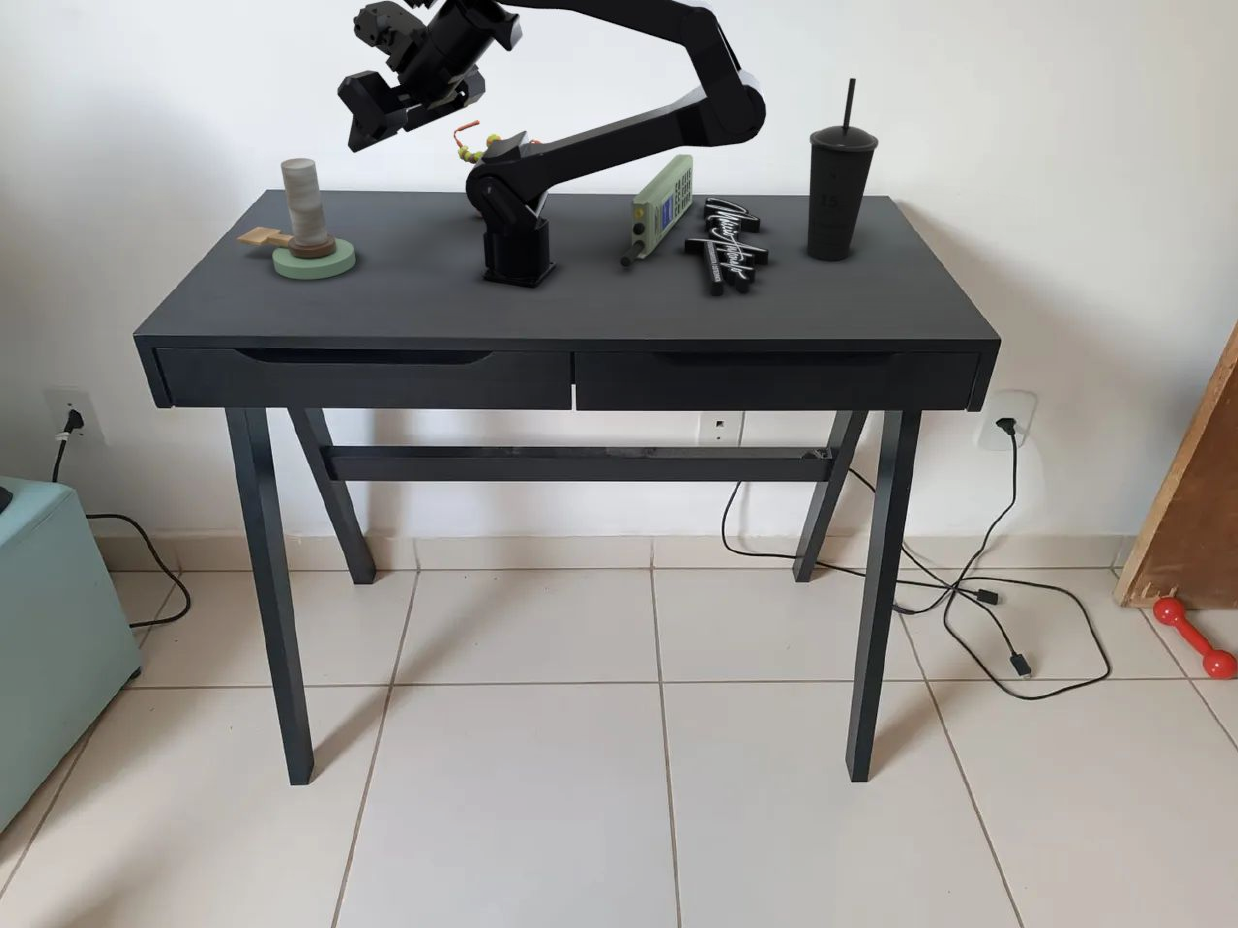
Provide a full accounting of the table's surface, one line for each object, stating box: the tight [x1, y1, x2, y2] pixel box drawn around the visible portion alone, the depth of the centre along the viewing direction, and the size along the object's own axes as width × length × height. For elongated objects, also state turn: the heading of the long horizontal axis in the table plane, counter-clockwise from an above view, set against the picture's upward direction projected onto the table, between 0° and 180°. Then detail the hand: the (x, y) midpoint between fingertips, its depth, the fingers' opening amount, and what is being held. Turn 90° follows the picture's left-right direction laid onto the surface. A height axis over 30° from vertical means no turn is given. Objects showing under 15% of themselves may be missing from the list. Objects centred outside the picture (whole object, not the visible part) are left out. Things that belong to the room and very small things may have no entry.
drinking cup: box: [806, 77, 879, 262], centre depth 108 cm, size 8×8×20 cm
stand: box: [272, 237, 356, 281], centre depth 109 cm, size 9×9×2 cm
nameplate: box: [683, 197, 770, 297], centre depth 115 cm, size 28×2×10 cm
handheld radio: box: [619, 153, 694, 268], centre depth 116 cm, size 7×3×25 cm
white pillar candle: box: [236, 157, 336, 258], centre depth 106 cm, size 11×5×10 cm, turn 71°
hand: (378, 138), depth 105 cm, fingers open, 9 cm apart
